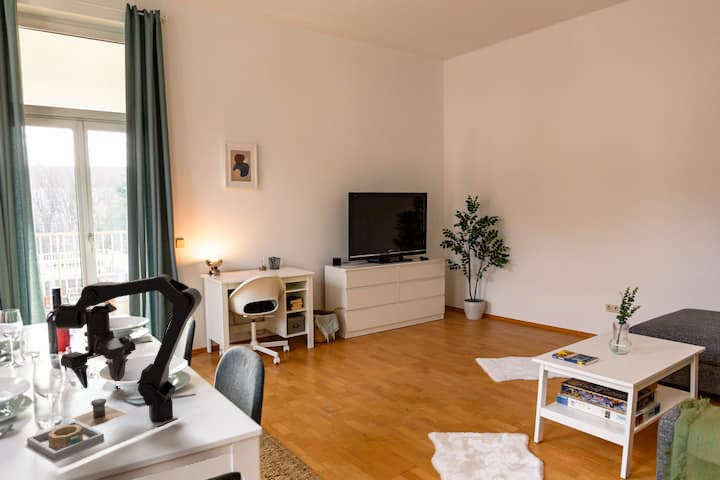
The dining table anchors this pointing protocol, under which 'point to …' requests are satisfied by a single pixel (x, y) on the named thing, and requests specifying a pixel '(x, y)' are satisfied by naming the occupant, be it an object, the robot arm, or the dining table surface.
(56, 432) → the ring
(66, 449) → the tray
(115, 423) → the dining table surface
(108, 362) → the sundae
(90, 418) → the wooden peg base
